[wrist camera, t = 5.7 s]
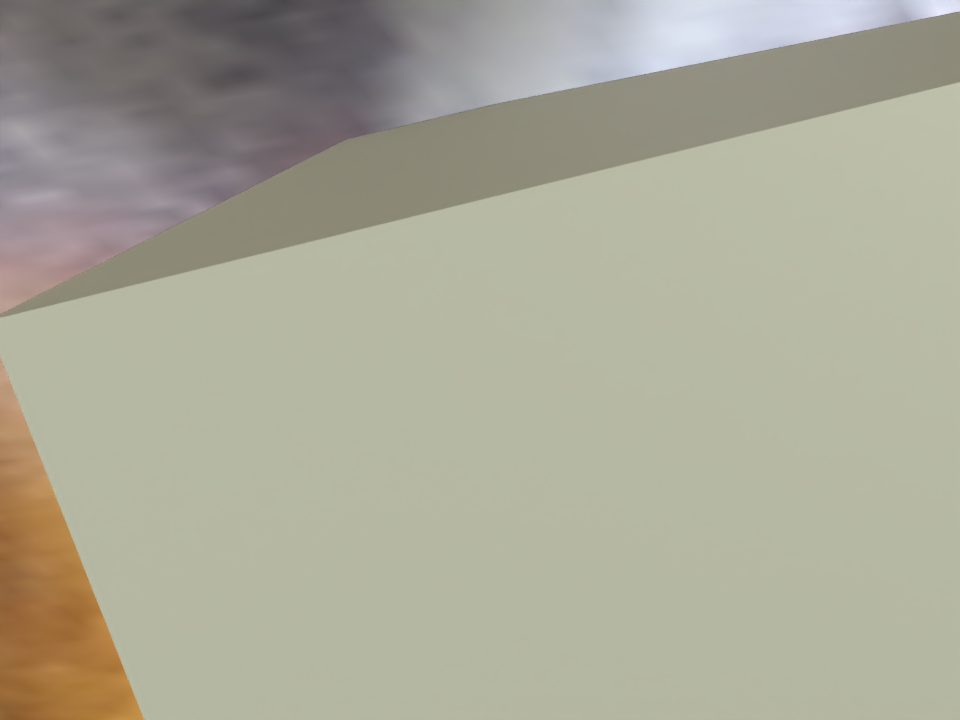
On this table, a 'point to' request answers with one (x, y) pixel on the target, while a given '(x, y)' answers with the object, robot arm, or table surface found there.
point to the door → (541, 409)
